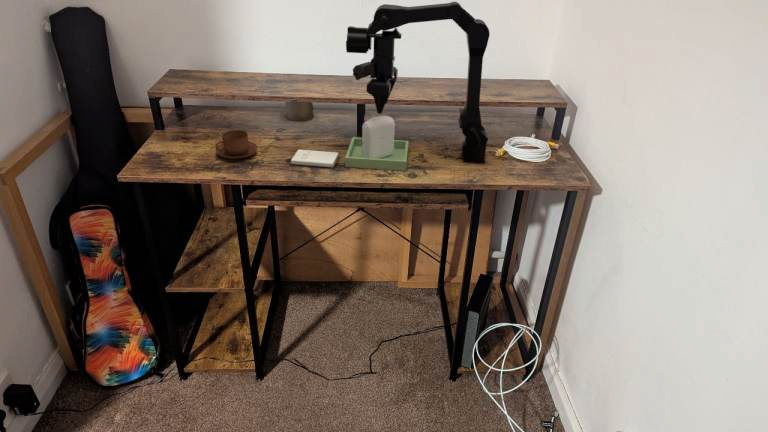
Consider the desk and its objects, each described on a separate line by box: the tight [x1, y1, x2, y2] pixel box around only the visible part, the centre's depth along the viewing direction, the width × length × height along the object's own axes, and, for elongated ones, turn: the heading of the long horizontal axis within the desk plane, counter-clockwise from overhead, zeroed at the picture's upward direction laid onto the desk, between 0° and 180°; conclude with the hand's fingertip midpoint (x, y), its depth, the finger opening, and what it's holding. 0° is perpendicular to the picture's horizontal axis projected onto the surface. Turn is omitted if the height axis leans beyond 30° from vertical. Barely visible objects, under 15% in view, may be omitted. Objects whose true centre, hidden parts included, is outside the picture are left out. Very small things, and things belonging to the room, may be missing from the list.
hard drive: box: [290, 149, 340, 169], centre depth 151 cm, size 2×8×12 cm
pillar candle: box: [284, 101, 314, 122], centre depth 180 cm, size 10×10×15 cm
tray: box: [344, 136, 409, 172], centre depth 154 cm, size 18×16×3 cm
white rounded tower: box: [361, 115, 396, 159], centre depth 152 cm, size 10×4×12 cm, turn 126°
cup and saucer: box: [215, 129, 258, 160], centre depth 152 cm, size 12×12×6 cm
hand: (382, 108), depth 151 cm, fingers open, 9 cm apart
